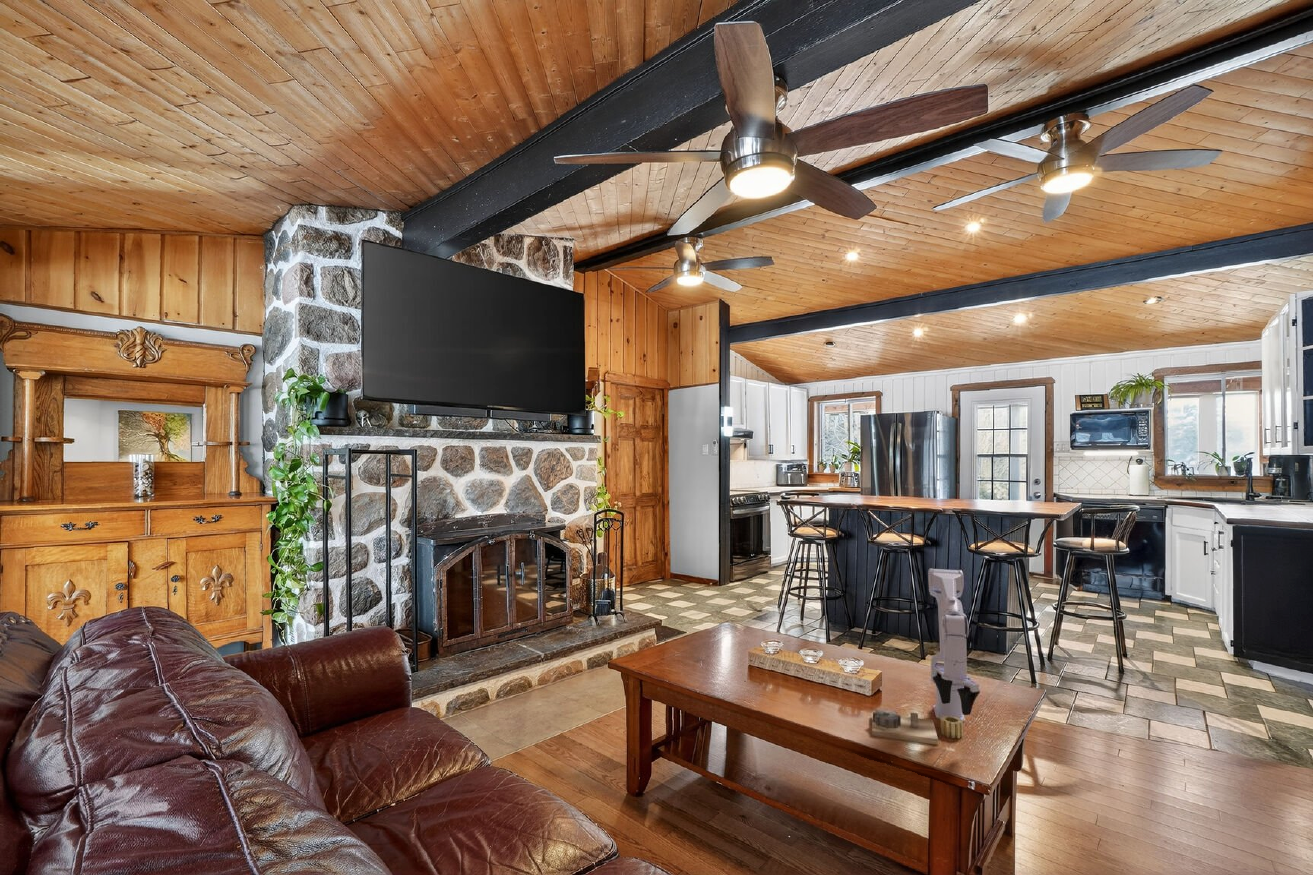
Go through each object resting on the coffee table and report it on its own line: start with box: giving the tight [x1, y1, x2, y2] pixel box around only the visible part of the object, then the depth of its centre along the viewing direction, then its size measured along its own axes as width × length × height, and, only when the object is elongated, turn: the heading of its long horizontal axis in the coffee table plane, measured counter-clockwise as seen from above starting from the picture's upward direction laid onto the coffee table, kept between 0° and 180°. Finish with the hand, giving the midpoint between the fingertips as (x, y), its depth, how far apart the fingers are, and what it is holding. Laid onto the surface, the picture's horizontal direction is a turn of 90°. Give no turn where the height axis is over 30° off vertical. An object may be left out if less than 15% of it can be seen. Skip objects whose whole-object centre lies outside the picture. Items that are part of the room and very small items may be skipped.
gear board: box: [871, 708, 939, 746], centre depth 175 cm, size 13×17×5 cm
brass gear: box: [940, 716, 964, 739], centre depth 173 cm, size 6×6×4 cm
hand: (956, 708), depth 168 cm, fingers open, 7 cm apart
